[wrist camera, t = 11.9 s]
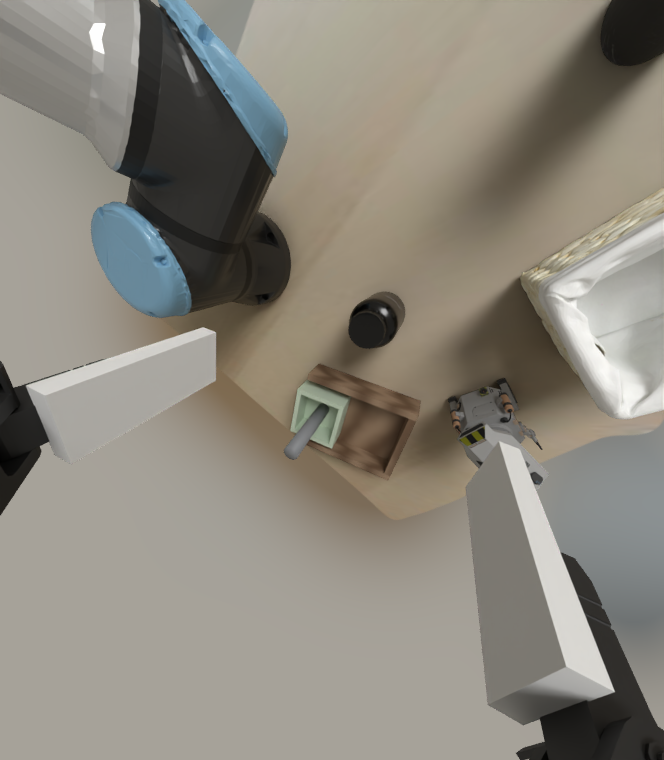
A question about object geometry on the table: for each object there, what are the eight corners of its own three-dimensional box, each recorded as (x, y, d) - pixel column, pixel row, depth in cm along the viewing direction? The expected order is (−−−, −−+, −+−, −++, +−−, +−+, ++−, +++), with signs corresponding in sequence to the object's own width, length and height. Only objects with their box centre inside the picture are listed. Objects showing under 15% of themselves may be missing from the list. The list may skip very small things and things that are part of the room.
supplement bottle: (408, 291, 41) (397, 305, 31) (403, 334, 44) (392, 360, 34) (364, 289, 44) (340, 302, 33) (362, 331, 47) (340, 354, 36)
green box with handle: (301, 417, 58) (263, 463, 45) (309, 377, 53) (268, 417, 40) (340, 433, 56) (311, 486, 44) (352, 394, 51) (323, 441, 39)
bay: (305, 426, 60) (295, 439, 56) (319, 363, 52) (308, 373, 48) (392, 463, 56) (388, 480, 52) (420, 401, 48) (418, 415, 44)
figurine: (473, 442, 48) (485, 512, 35) (443, 390, 46) (444, 444, 33) (531, 427, 44) (569, 500, 31) (501, 368, 41) (528, 421, 29)
